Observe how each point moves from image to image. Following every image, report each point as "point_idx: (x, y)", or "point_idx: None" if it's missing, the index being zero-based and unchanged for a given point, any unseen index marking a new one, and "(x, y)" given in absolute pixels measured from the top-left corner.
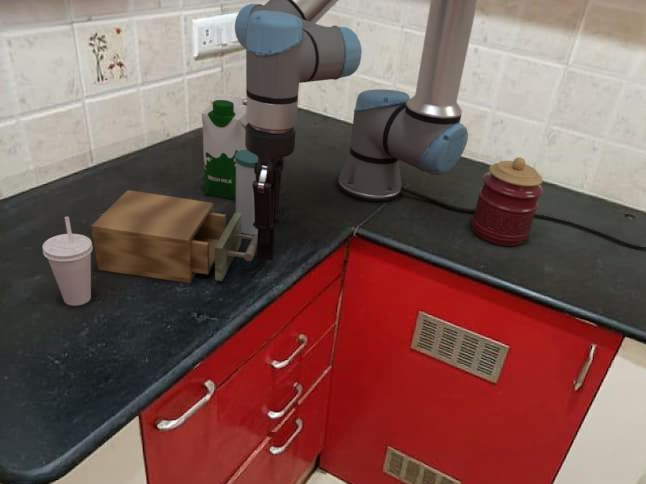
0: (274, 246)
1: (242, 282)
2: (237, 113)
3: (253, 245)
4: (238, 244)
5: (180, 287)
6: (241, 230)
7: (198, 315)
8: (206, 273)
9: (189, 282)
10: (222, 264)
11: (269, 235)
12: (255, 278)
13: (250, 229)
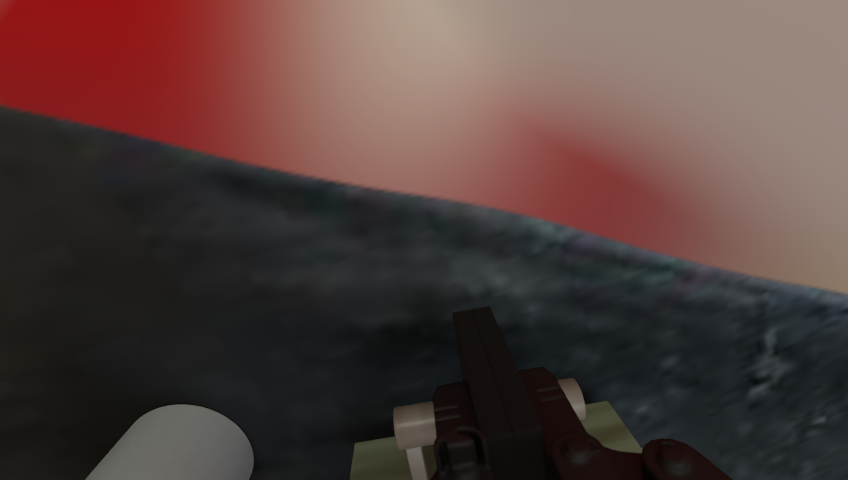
0: (460, 339)
1: (559, 344)
2: None
3: None
4: (394, 453)
5: None
6: (250, 475)
7: (760, 381)
8: None
9: None
10: (638, 452)
11: (540, 406)
12: (520, 317)
13: (240, 458)
